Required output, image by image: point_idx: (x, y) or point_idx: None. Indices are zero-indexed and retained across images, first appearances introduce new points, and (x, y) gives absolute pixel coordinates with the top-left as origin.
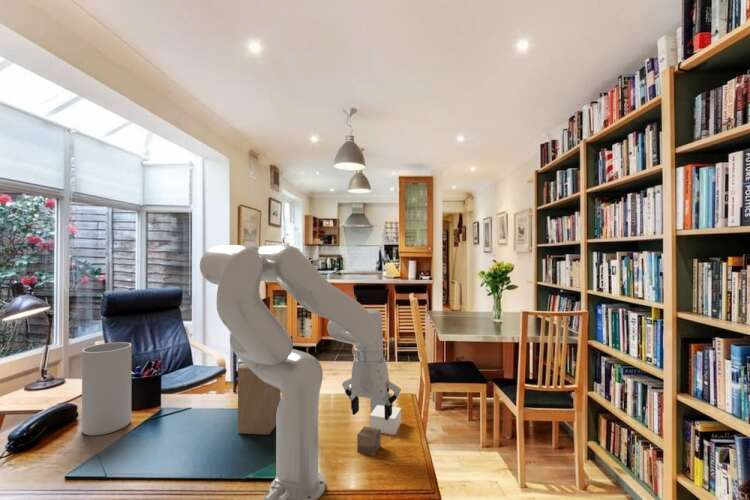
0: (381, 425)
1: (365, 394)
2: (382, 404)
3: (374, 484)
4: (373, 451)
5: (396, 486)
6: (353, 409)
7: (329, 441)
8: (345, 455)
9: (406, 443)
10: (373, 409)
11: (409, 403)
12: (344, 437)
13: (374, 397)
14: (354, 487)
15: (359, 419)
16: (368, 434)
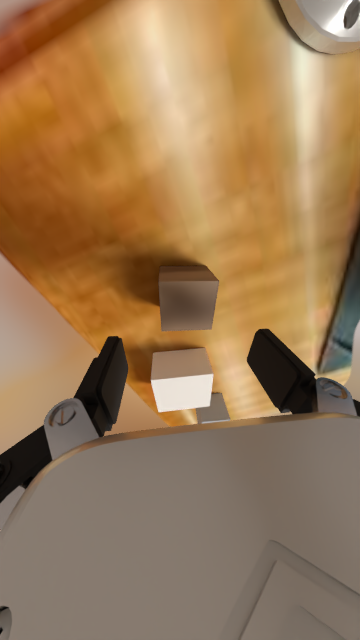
0: (182, 361)
1: (263, 459)
2: (203, 410)
3: (83, 88)
4: (162, 269)
5: (8, 110)
6: (276, 342)
7: (282, 285)
8: (231, 239)
9: (117, 335)
10: (217, 397)
11: (169, 423)
12: (250, 311)
13: (148, 446)
14: (140, 16)
15: (234, 370)
16: (184, 293)
